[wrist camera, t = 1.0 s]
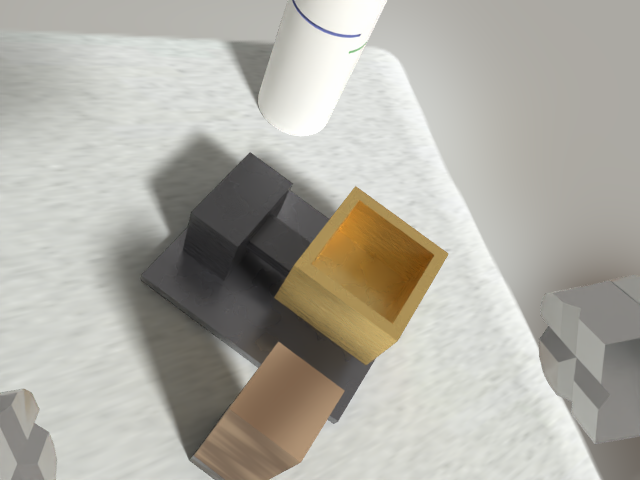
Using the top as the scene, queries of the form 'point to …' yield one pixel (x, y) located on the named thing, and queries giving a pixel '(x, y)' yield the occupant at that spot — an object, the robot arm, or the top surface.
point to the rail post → (269, 420)
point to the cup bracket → (297, 274)
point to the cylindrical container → (314, 61)
